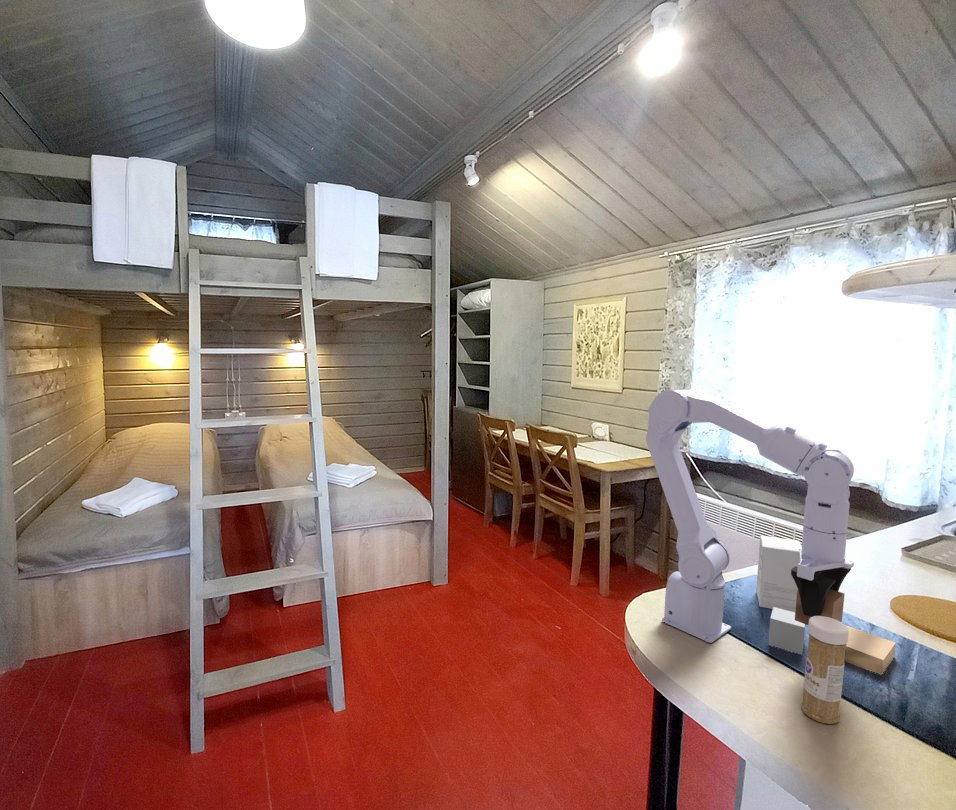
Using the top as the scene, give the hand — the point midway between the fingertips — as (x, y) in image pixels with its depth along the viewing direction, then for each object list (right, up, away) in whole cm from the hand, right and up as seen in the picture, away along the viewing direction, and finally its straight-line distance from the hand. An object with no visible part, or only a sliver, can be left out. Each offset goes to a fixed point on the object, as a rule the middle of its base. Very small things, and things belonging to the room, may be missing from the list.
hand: (817, 610), depth 82 cm
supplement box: (+7, -8, +23) cm, 25 cm away
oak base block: (+10, -10, +5) cm, 15 cm away
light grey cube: (0, -9, +8) cm, 12 cm away
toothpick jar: (-6, -11, -10) cm, 16 cm away
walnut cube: (0, -2, 0) cm, 2 cm away
